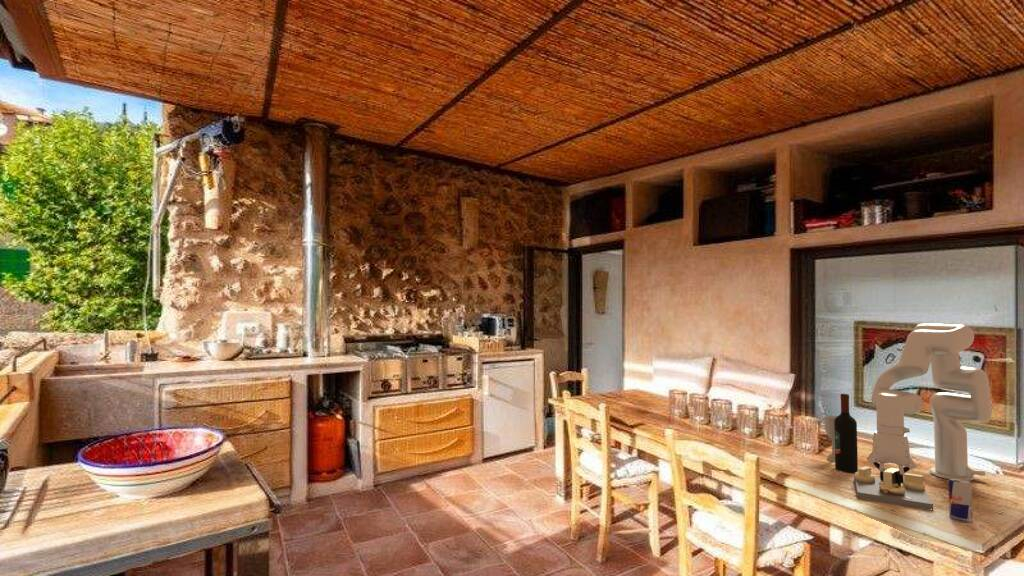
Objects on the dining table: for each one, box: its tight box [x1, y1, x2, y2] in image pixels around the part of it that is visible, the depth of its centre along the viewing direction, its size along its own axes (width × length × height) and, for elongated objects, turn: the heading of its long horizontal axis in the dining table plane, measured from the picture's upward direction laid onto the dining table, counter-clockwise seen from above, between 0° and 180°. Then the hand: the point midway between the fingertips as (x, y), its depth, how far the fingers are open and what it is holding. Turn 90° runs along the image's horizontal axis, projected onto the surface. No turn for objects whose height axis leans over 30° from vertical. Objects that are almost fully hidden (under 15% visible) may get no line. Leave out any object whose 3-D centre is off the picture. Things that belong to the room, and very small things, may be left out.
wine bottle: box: [834, 393, 859, 474], centre depth 200 cm, size 8×8×30 cm
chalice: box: [822, 415, 838, 463], centre depth 212 cm, size 7×7×18 cm
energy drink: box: [947, 477, 974, 524], centre depth 154 cm, size 5×5×12 cm
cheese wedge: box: [879, 467, 905, 495], centre depth 170 cm, size 9×7×7 cm
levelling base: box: [853, 466, 934, 511], centre depth 174 cm, size 20×20×6 cm
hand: (891, 483), depth 171 cm, fingers closed on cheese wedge, 3 cm apart
